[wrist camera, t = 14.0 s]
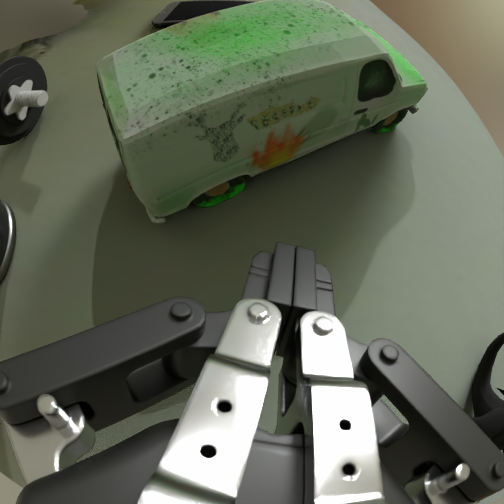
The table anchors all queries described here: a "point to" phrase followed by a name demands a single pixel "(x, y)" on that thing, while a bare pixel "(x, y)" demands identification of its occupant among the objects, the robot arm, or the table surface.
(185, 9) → the smartphone
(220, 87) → the toy car
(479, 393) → the figurine
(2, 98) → the dumbbell
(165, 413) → the table surface
